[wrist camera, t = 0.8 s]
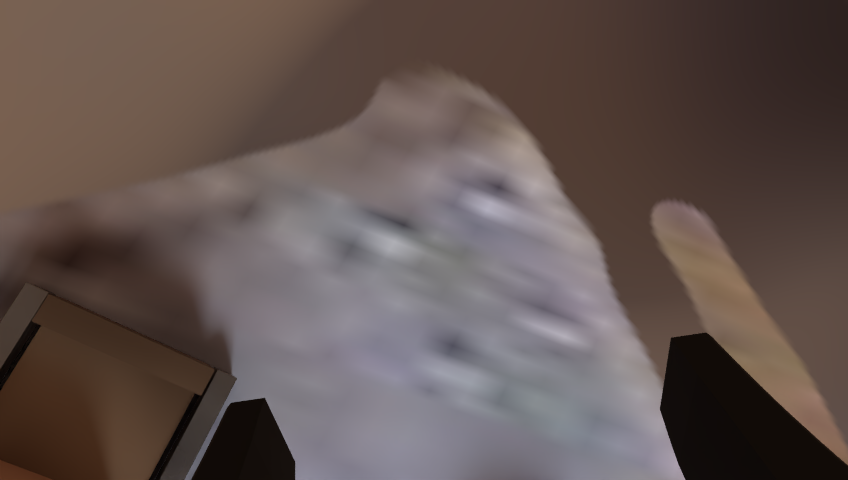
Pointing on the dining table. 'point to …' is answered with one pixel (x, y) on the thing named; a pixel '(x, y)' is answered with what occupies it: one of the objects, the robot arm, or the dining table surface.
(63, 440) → the brown boxy piece
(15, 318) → the lane rails
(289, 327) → the dining table surface
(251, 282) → the dining table surface
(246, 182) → the dining table surface
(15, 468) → the block
